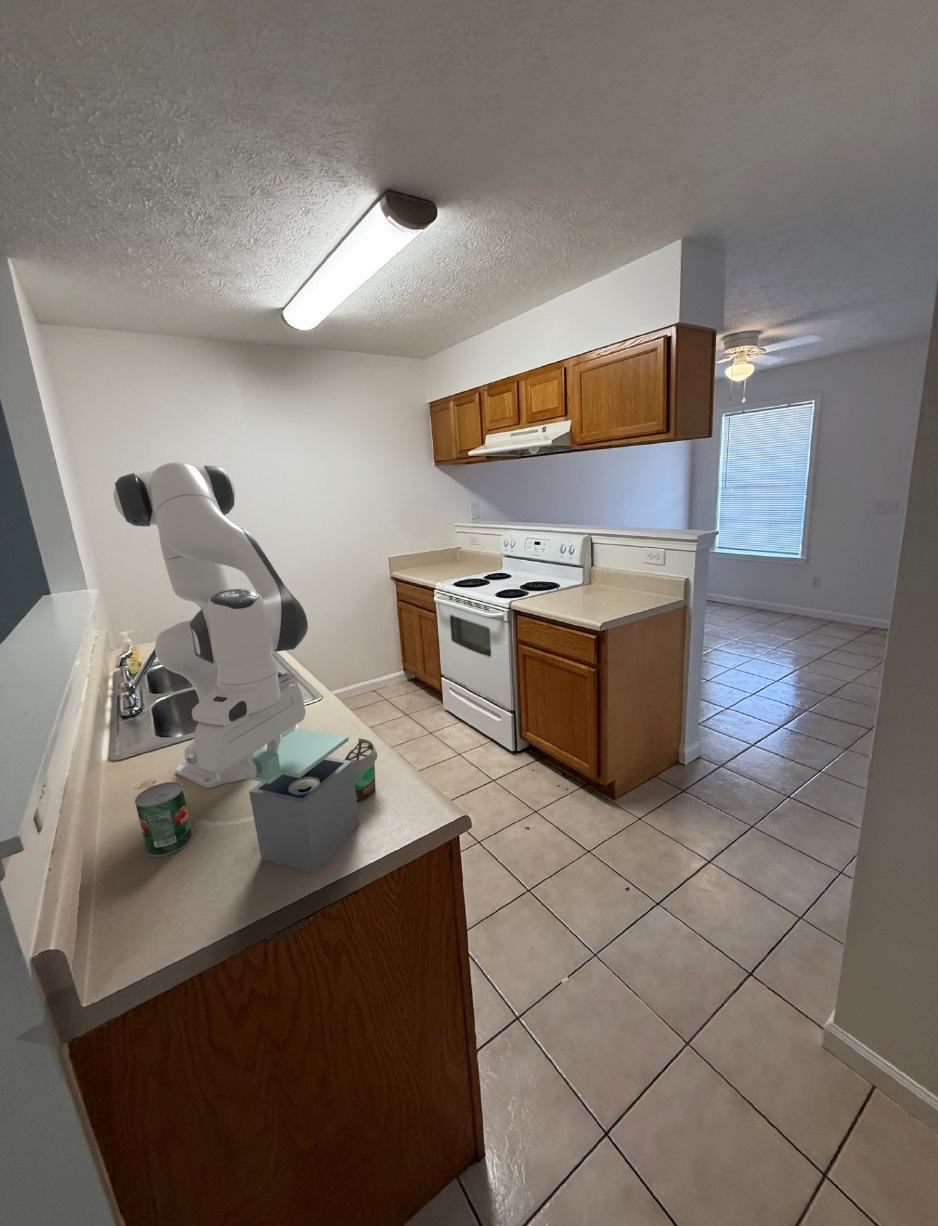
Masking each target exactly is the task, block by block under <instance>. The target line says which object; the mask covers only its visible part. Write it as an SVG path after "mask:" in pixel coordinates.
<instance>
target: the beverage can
mask: <svg viewBox="0 0 938 1226" xmlns="http://www.w3.org/2000/svg"><path fill="white" fill-rule="evenodd" d="M319 784H321V783H320V781H319V779H317V778H314V777H305V778H301V779H298V780H296V781H294V782H293V783H292V784H291V785H290V786H289V788H288V790H289V791H288V793H287V795H288V796H293V797H297V798H302V799H303V798H304V797H306V796H307V795H308V794H309V793H310V792H311V791H312V790H314V789H315V788H316V787H317V786H318V785H319Z"/></svg>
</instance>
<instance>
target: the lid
mask: <svg viewBox="0 0 938 1226" xmlns="http://www.w3.org/2000/svg"><path fill="white" fill-rule="evenodd" d="M348 742H349V736H345V735H339V734H335V733H329V732H328V733H327V732H323V731H322V732H321V731H316V730H309V729H303V728H299V729H296V730H294V731H293V732H291V733H290V734H288V735H286V736H285V737H283V738H282V737H281V741H280V744H279V748H278V751H277V754H276V753H271V752H266V749H267V748H266V749H264V750H262V751H261V750H257V751H255V752H254V753H253V754H254V758H253V759H251V760H252V761H253V762H255V763H260V765H261V768H260V769H261V773H259V774H258V775H256V776H255V777H250V776H248V775H247V774H246V778H245V779H247V780H251V781H255V782H259V783H261V782H264V783H269V784H270V783H272V782H273V781H274V780H276V779H277V778H279V777H280V776H281V775H288V776H292V777H297V778H300V777H301V776H303V775H304V774H305V773H307V772H308V771H309V770H311V769H312V768H313V767H315V766H316V765H317V764H319V763H320V762H321V761H322V760H324V759H325V758H326V757H329V756H330V755H331V754H333V753H334V752H336V751H337V750H338V749H340V748H341V747H343V746H344V745H345V744H346V743H348Z"/></svg>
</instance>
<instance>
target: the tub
mask: <svg viewBox="0 0 938 1226" xmlns="http://www.w3.org/2000/svg"><path fill="white" fill-rule="evenodd" d="M305 777H314V778H317V779H319V781H320V783H321V784H319V785H318V786H317V787H316V788H315V789H314V790H312V791H311V792H310V793H309V794H308V795H307V796H306V797H304V798H303V799H302V798H297V797H293V796H288V795H287V793H288V791H289V790H288V788H289V786H290V785H291V784H292V783H293V782H294V781H296V780H298V779H301V778H305ZM248 793H249V799H250V804H251V809H252V816H253V822H254V826H255V832H256V837H257V841H258V848H259V853H260V854H259V855H260V858H261V860H263V861H268V862H270V863H274V864H278V865H282V866H285V867H289V868H292V869H293V868H294V869H295V870H296V869H297V870H300V871H303V872H307V873H310V874H316V873H317V872H318V871H319V870H320V868H322V867H323V865H324V864H325V863H326V862H327V861H328V860H329V859H330V858H331V856H332V855H333V854H334V853H335V852H336V851H337V850H338V849H339V848H340V847H341V846H342V844H343V843H344V842H345V841H346V840H347V839H348V838H349V837H350V836H351V835H352V833H353V832H354V831H355V830H356V829H357V828H358V827H359V826H360V824H361V823H360V817H359V815H360V814H359V808H358V803H357V799H356V791H355V783H354V775H353V767H352V761H348V760H345V759H341V758H335V757H329V756H328V757H326V758H325V759H324V760H322V761H321V762H320V763H319V764H317V765H316V766H315V767H313V768H312V769H311V770H309V771H308V772H307V773H305V774H304V775H303V776H301V777H300V778H297V777H292V776H288V775H281V776H280V777H279V778H277V779H276V780H274V781H273V782H272V783H270V784H269V783H264V782H259V783H258V784H256V786H254V787H253V788H252V789H250V790H249V791H248Z"/></svg>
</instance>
